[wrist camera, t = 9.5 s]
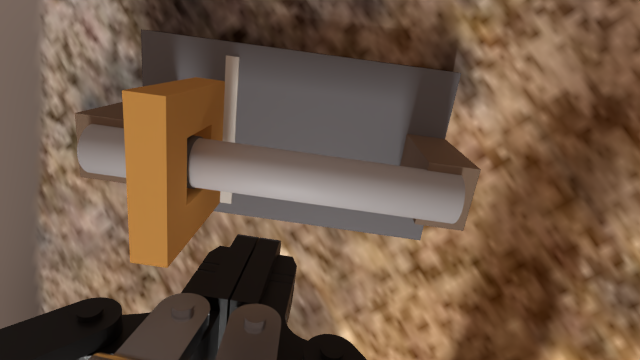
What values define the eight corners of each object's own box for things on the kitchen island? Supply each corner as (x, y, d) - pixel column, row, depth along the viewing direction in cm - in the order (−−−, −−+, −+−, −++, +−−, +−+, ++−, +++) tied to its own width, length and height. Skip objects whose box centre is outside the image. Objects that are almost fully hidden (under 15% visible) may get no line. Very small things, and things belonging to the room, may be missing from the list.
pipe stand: (453, 71, 29) (519, 84, 19) (415, 229, 34) (450, 314, 23) (154, 31, 30) (44, 19, 19) (156, 193, 34) (70, 259, 23)
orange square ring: (225, 81, 25) (166, 96, 17) (219, 202, 28) (167, 267, 20) (195, 77, 25) (122, 90, 17) (193, 198, 28) (130, 262, 20)
